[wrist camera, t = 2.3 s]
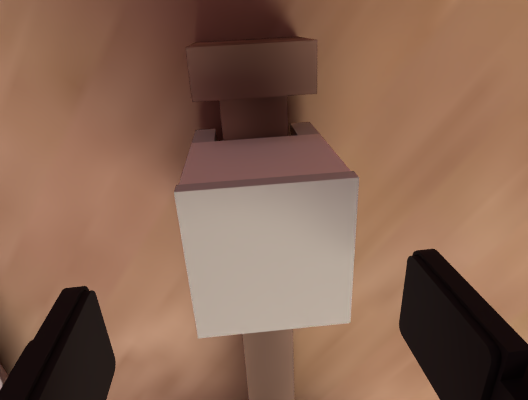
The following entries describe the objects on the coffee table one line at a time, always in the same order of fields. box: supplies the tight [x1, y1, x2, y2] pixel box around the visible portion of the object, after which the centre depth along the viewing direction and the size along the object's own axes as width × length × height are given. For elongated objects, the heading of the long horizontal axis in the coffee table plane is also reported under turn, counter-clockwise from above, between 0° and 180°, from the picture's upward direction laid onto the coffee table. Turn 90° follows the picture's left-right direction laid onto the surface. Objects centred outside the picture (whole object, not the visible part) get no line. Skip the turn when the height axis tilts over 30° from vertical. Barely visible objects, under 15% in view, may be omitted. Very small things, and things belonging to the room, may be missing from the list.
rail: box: [186, 37, 317, 400], centre depth 23 cm, size 5×30×4 cm, turn 3°
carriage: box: [174, 122, 359, 338], centre depth 17 cm, size 6×6×8 cm
